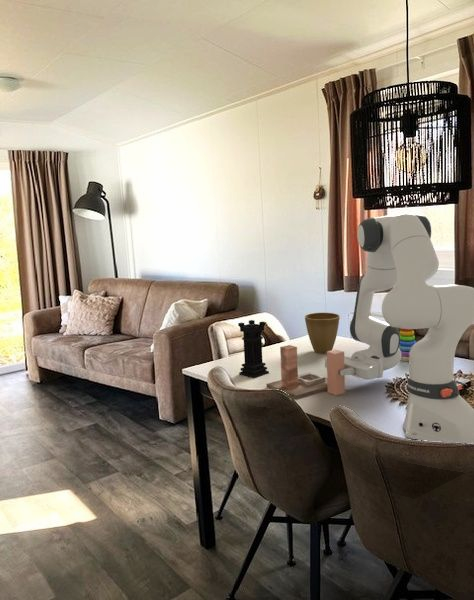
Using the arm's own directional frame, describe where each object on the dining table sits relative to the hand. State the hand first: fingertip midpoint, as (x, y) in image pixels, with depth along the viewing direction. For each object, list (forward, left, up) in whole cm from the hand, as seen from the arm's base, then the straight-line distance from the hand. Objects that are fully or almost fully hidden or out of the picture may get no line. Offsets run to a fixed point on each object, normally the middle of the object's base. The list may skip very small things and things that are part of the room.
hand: (333, 371), depth 172 cm
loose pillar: (0, -1, -8) cm, 8 cm away
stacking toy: (+10, -50, -8) cm, 51 cm away
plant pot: (+42, -34, -8) cm, 55 cm away
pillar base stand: (+12, +3, -8) cm, 14 cm away
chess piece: (+36, +7, -8) cm, 37 cm away
